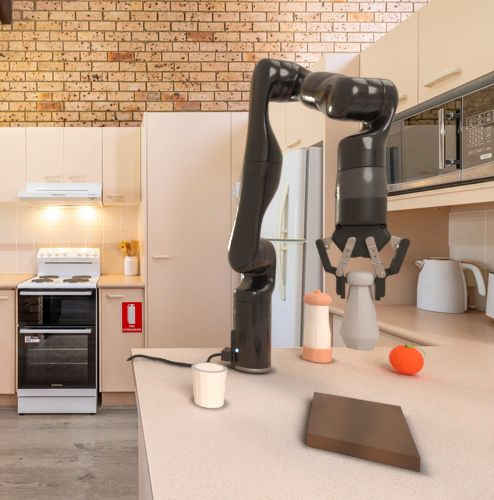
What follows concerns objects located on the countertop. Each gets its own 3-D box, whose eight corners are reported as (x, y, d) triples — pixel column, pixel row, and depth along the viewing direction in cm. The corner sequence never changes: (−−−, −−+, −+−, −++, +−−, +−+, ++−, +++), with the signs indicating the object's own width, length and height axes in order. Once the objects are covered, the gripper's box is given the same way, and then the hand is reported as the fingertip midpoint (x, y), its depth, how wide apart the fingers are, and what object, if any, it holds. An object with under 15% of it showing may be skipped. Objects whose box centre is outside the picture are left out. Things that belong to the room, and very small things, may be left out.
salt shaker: (386, 353, 63) (387, 272, 62) (347, 351, 64) (348, 271, 64) (370, 344, 68) (371, 270, 68) (334, 342, 69) (335, 269, 69)
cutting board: (306, 445, 60) (306, 432, 60) (314, 401, 78) (314, 391, 78) (420, 471, 53) (420, 457, 53) (400, 417, 71) (400, 406, 71)
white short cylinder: (227, 398, 79) (228, 363, 79) (225, 411, 72) (226, 374, 72) (193, 393, 81) (194, 360, 81) (188, 406, 75) (188, 369, 75)
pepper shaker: (320, 364, 103) (321, 291, 103) (296, 357, 109) (297, 288, 109) (337, 360, 106) (338, 290, 106) (313, 354, 113) (314, 287, 112)
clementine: (416, 370, 98) (416, 342, 98) (435, 379, 91) (436, 349, 91) (382, 369, 99) (382, 341, 99) (399, 378, 92) (399, 347, 92)
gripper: (409, 198, 66) (408, 299, 66) (314, 202, 73) (313, 294, 73) (417, 192, 59) (416, 305, 59) (312, 197, 66) (311, 298, 66)
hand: (359, 298), depth 66 cm, fingers closed on salt shaker, 4 cm apart
